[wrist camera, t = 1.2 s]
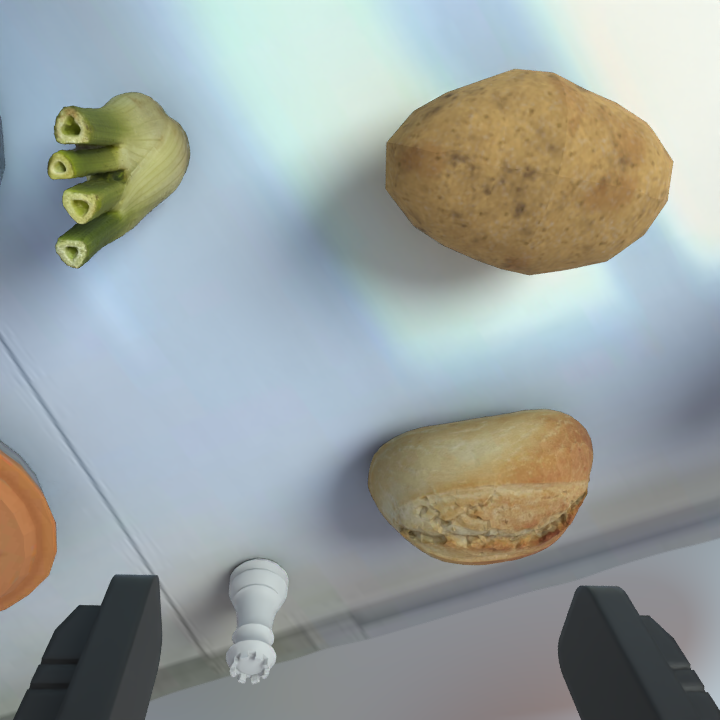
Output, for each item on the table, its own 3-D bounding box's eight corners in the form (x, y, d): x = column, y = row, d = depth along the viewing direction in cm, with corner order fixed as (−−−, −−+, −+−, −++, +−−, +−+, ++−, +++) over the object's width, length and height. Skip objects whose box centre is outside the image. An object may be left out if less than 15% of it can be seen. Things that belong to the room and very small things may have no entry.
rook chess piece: (233, 601, 46) (219, 697, 39) (226, 557, 44) (209, 649, 37) (291, 597, 47) (287, 691, 39) (286, 552, 45) (281, 643, 37)
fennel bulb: (159, 222, 34) (87, 287, 23) (78, 168, 33) (-39, 210, 22) (214, 135, 32) (164, 161, 21) (131, 74, 31) (32, 68, 20)
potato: (390, 49, 31) (413, 38, 24) (639, 95, 33) (731, 97, 26) (361, 233, 35) (373, 272, 28) (585, 265, 37) (651, 309, 30)
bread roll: (580, 481, 44) (633, 559, 37) (382, 527, 44) (395, 613, 37) (570, 367, 40) (627, 429, 33) (352, 419, 40) (360, 492, 33)
